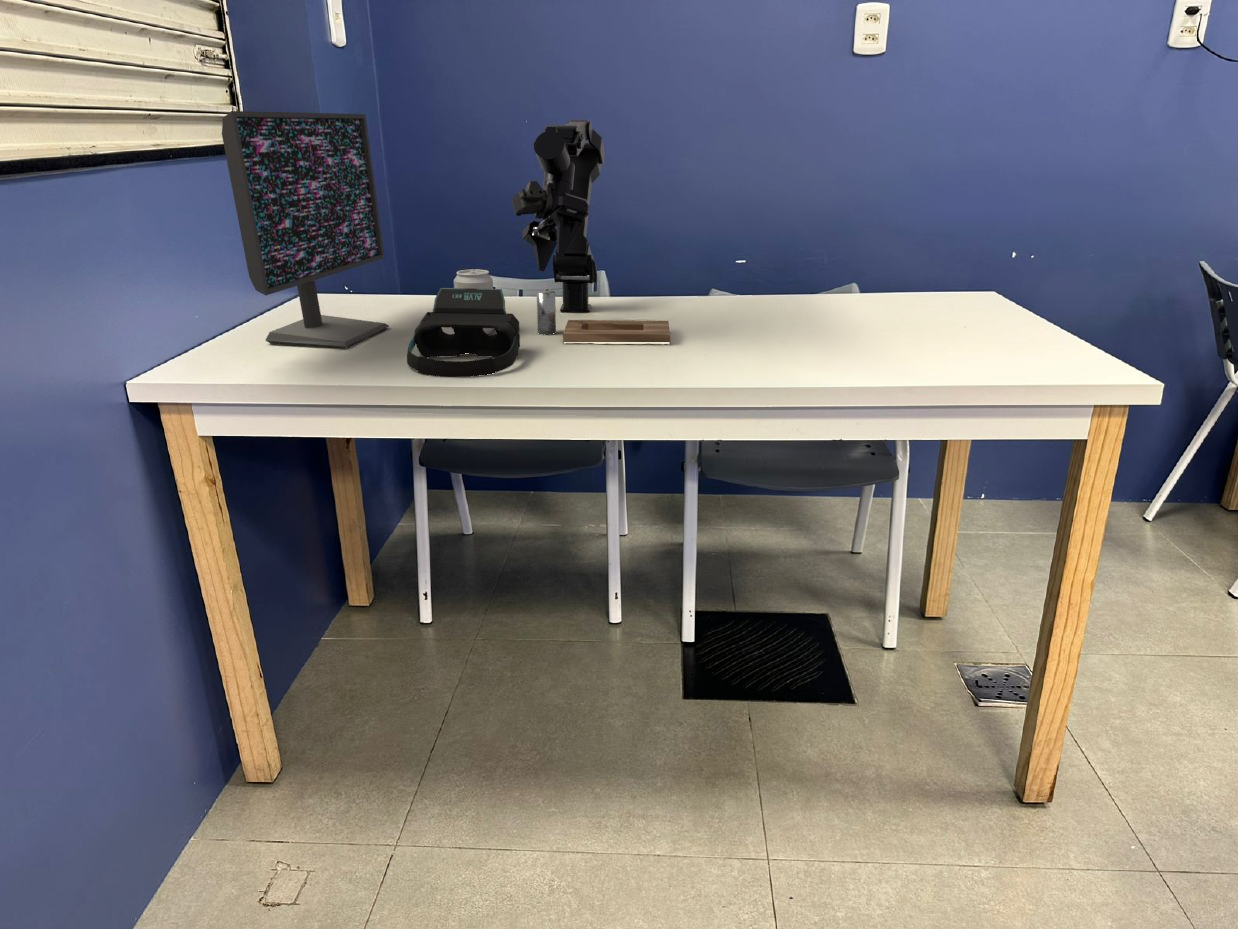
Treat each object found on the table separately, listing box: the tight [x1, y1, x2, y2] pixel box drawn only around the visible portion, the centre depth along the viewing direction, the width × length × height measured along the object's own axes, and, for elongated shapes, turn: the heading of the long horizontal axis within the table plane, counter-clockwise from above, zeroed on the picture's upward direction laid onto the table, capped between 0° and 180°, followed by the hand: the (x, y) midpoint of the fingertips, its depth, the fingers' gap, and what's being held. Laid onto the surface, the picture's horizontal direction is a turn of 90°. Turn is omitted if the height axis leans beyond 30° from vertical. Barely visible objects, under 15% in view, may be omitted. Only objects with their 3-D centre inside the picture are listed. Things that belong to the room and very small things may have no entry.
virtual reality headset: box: [406, 287, 521, 378], centre depth 148 cm, size 19×22×10 cm
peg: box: [536, 290, 557, 336], centre depth 168 cm, size 4×4×8 cm
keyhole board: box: [562, 319, 671, 343], centre depth 166 cm, size 12×20×2 cm, turn 88°
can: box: [453, 268, 494, 335], centre depth 167 cm, size 8×8×12 cm
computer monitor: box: [221, 110, 390, 349], centre depth 158 cm, size 44×16×40 cm, turn 168°
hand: (550, 263), depth 163 cm, fingers open, 9 cm apart
